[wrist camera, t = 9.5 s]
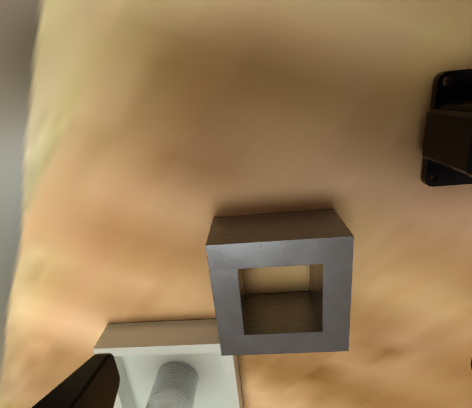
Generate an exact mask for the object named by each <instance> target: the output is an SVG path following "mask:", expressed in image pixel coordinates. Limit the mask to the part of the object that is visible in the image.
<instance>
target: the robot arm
mask: <svg viewBox="0 0 472 408" xmlns="http://www.w3.org/2000/svg"><path fill="white" fill-rule="evenodd" d="M445 77H447V79H448V81H447V84H446V85H445V86H444V85H443V84H442V81H443V79H444V78H445ZM422 155H423V156H424V163H423V171H422V181H423V183H425V184H426V185H428V186H432V187H434V186H447V185H461V184H472V69H465V70H455V71H445V72H441V73H439V74H438V75H437V76H436V77H435V79H434V82H433V90H432V98H431V106H430V111H429V112H428V113H427V118H426V126H425V134H424V143H423V151H422ZM432 175H434V176H435V177H434V179H433V180H431V181H430V180H429V179H430V177H431V176H432ZM471 368H472V360H471ZM119 385H120V375H119V371H118V368H117V365H116V362H115V358H114V356H113V355H112V354H111V353H98V354H95V355H94V356H92V357H91V358H90V359H89V360H88V361H86V362H85V363H84V364H83V365H82V366H80V367H79V368H78V369H77V370H76V371H74V372H73V373H72V374H71V375H70V376H69V377H67V378H66V379H65V380H64V381H63V382H61V383H60V384H59V385H58V386H57V387H56V388H54V389H53V390H52V391H51V392H50V393H48V394H47V395H46V396H45V397H44V398H43V399H41V400H40V401H39V402H38V403H37V404H35V405H34V406H33V407H32V408H114V404H115V400H116V396H117V393H118V389H119Z"/></svg>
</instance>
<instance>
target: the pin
mask: <svg viewBox="0 0 472 408" xmlns="http://www.w3.org/2000/svg"><path fill="white" fill-rule="evenodd" d="M198 379H199V378H198V374H197V372H196V370H195V369H194V368H193V367H192V366H190V365H189V364H187V363H184V362H180V361H171V362H167V363H165V364H163V365H162V366H161V367H160V368H159V369H158V372H157V375H156V378H155V381H154V384H153V387H152V390H151V393H150V396H149V399H148V402H147V405H146V408H193V407H194V401H195V396H196V390H197V385H198Z"/></svg>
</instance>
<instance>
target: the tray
mask: <svg viewBox="0 0 472 408" xmlns="http://www.w3.org/2000/svg"><path fill="white" fill-rule="evenodd" d="M93 350H94V353H95V354H98V353H111V354H112V355H113V356H114V358H115V362H116V365H117V368H118V371H119V375H120V385H119V389H118V393H117V396H116V400H115V404H114V408H146V405H147V402H148V399H149V396H150V393H151V390H152V387H153V384H154V381H155V378H156V375H157V372H158V369H159V368H160V367H161V366H162V365H163V364H165V363H167V362H171V361H180V362H184V363H187V364H189V365H190V366H192V367H193V368H194V369H195V370H196V372H197V374H198V378H199V379H198V385H197V390H196V396H195V401H194V407H193V408H244V404H243V396H242V388H241V379H240V371H239V363H238V355H229V356H222V355H221V348H220V342H219V335H218V328H217V321H216V319H201V320H180V321H158V322H137V323H115V324H108V325H107V327H106V328H105V330H104V332H103V333H102V335H101V336H100V338H99V340H98V341H97V343H96V345H95V346H94V348H93Z"/></svg>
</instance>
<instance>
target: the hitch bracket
mask: <svg viewBox="0 0 472 408" xmlns="http://www.w3.org/2000/svg"><path fill="white" fill-rule="evenodd" d="M353 240H354V236H353V234H352V233H351V232H350V230H349V229H348V228H347V226H346V225H345V223H344V222H343V221H342V219H341V218H340V216H339V215H338V214H337V212H336V211H335V209H324V210H310V211H296V212H281V213H267V214H253V215H239V216H225V217H214V218H213V221H212V225H211V228H210V232H209V235H208V239H207V243H206V252H207V258H208V265H209V272H210V279H211V286H212V293H213V300H214V307H215V314H216V321H217V328H218V335H219V342H220V348H221V355H222V356H229V355H255V354H281V353H308V352H334V351H348V350H349V328H350V306H351V284H352V262H353ZM294 265H310V291H306V292H287V293H268V294H248V295H245V289H244V279H243V268H260V267H277V266H294Z"/></svg>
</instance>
